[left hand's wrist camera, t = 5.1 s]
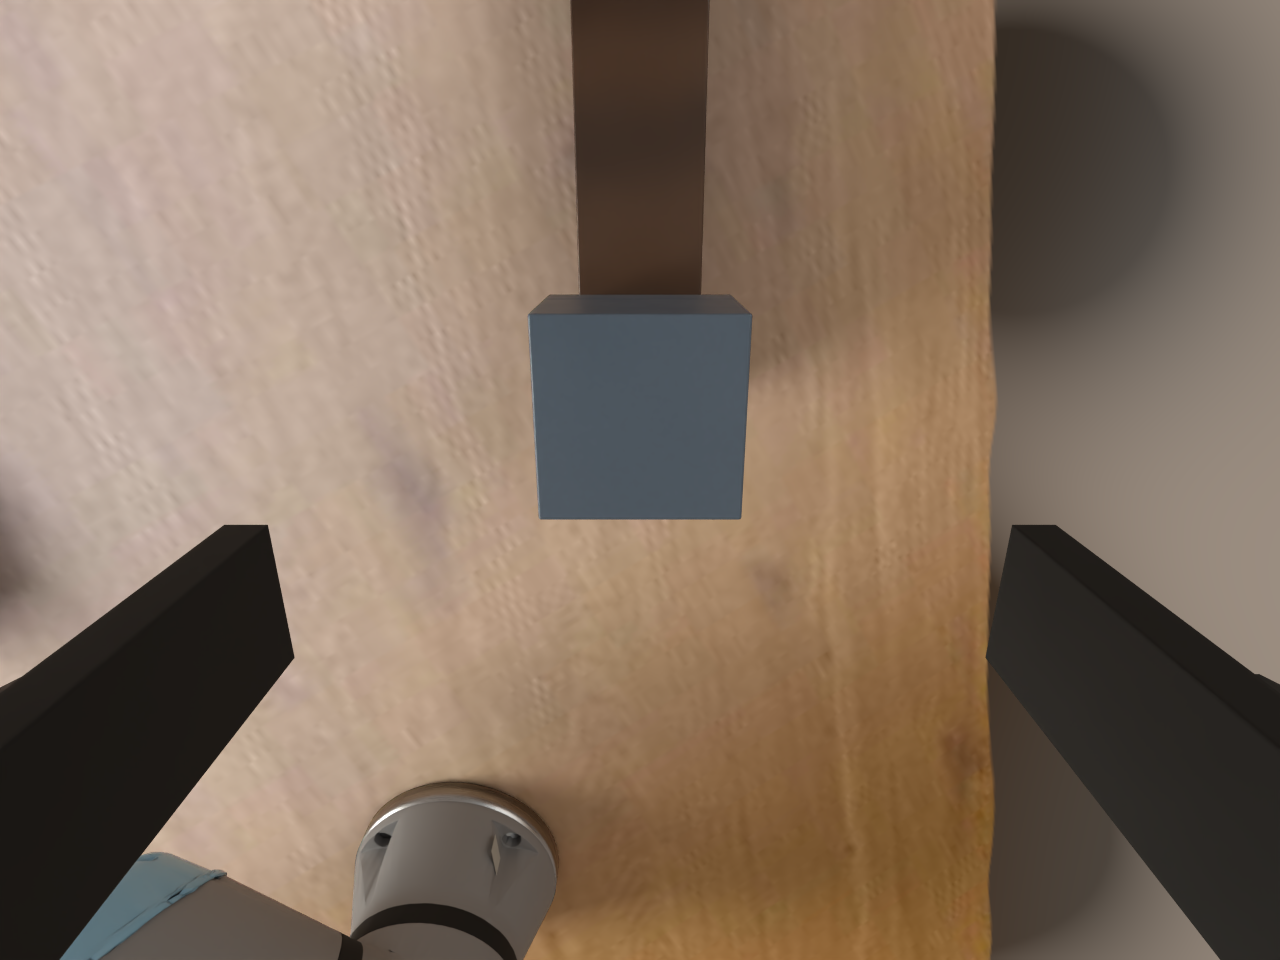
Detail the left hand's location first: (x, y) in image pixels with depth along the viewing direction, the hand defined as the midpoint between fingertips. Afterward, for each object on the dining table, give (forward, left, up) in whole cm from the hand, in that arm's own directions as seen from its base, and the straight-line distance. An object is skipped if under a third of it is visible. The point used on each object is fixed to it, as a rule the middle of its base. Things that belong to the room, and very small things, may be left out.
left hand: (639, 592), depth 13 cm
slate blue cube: (0, 0, -17) cm, 17 cm away
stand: (+9, 0, -31) cm, 32 cm away
